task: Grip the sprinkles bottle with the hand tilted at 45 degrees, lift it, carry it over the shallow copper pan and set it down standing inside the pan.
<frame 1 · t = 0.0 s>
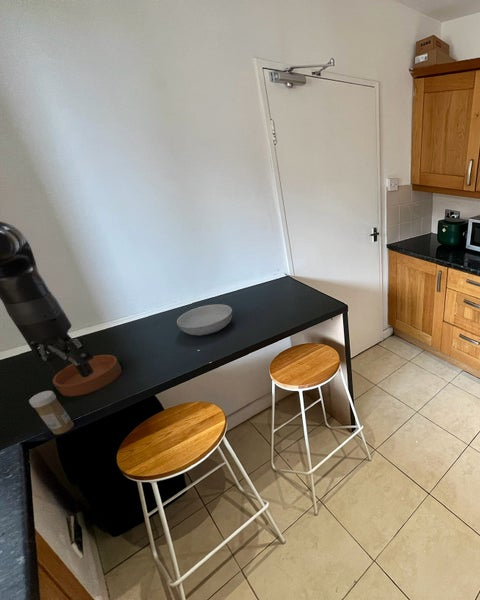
hand: (74, 372, 76), 24 cm above the countertop, tool pointing down, fingers open, 8 cm apart
pan: (92, 379, 108), on the countertop
serving bowl: (209, 328, 138), on the countertop
sprinkles bottle: (65, 431, 89), on the countertop
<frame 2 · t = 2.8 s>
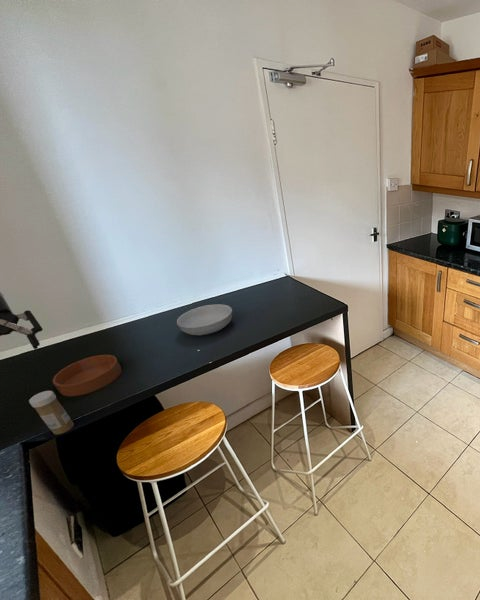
hand: (12, 355, 82), 24 cm above the countertop, tool tilted 40°, fingers open, 8 cm apart
nothing on the countertop moved.
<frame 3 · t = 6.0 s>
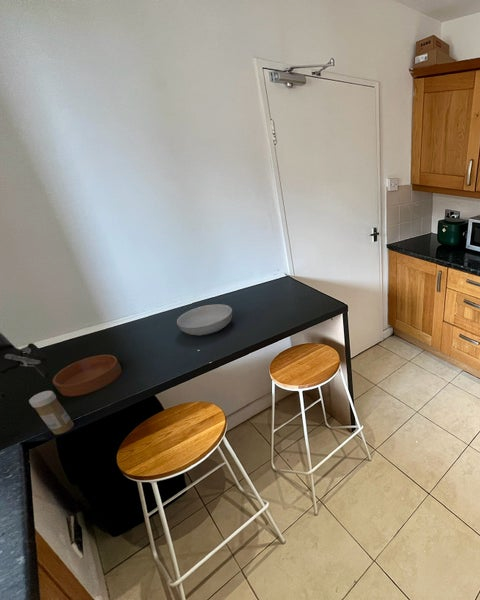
hand: (25, 385, 85), 14 cm above the countertop, tool tilted 45°, fingers open, 8 cm apart
nothing on the countertop moved.
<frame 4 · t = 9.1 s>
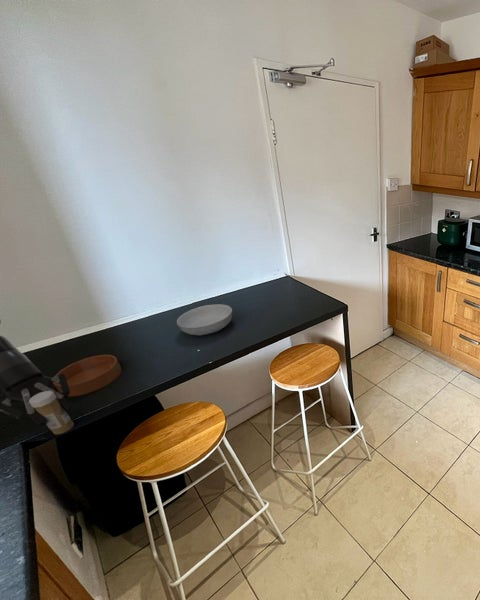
hand: (57, 416, 85), 7 cm above the countertop, tool tilted 45°, fingers closed on sprinkles bottle, 4 cm apart
sprinkles bottle: (65, 431, 89), on the countertop, touching gripper
everything else where it was.
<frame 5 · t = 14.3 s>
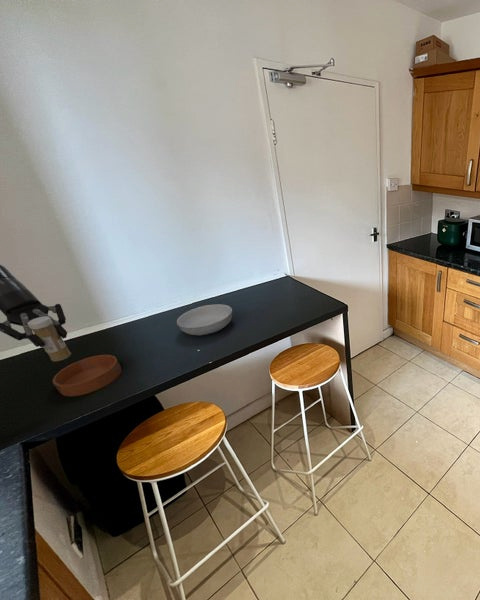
hand: (54, 341, 92), 21 cm above the countertop, tool tilted 45°, fingers closed on sprinkles bottle, 4 cm apart
sprinkles bottle: (62, 357, 95), point 15 cm above the countertop, touching gripper
everything else where it was.
when the fingers open (7 cm above the countertop, at t = 19.8 s): sprinkles bottle stays where it is, resting on pan.
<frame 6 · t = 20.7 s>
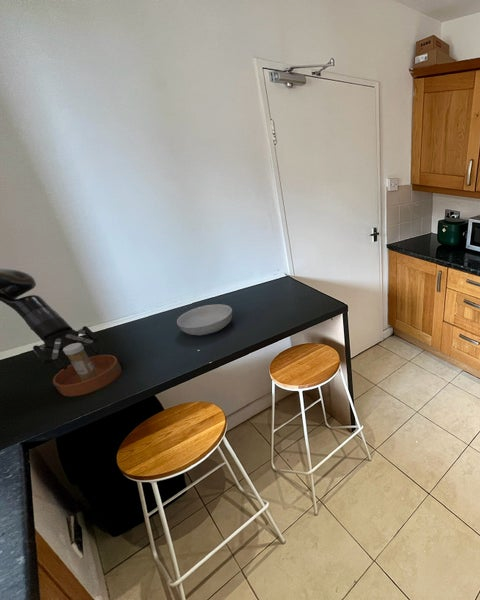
hand: (82, 360, 104), 9 cm above the countertop, tool tilted 45°, fingers open, 8 cm apart
sprinkles bottle: (91, 378, 108), resting on pan
everything else where it was.
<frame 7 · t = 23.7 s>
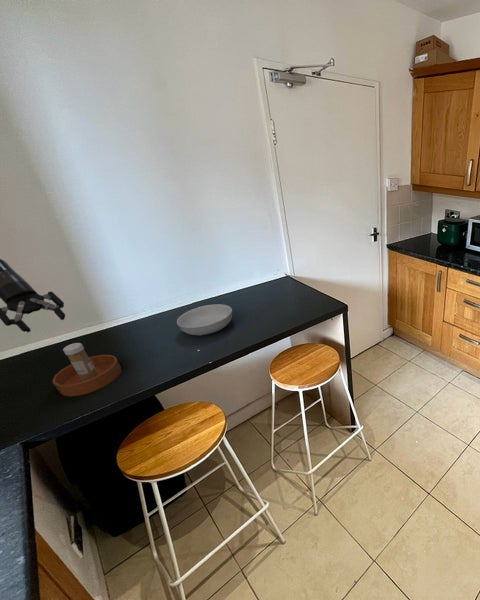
hand: (46, 324, 104), 19 cm above the countertop, tool tilted 45°, fingers open, 8 cm apart
nothing on the countertop moved.
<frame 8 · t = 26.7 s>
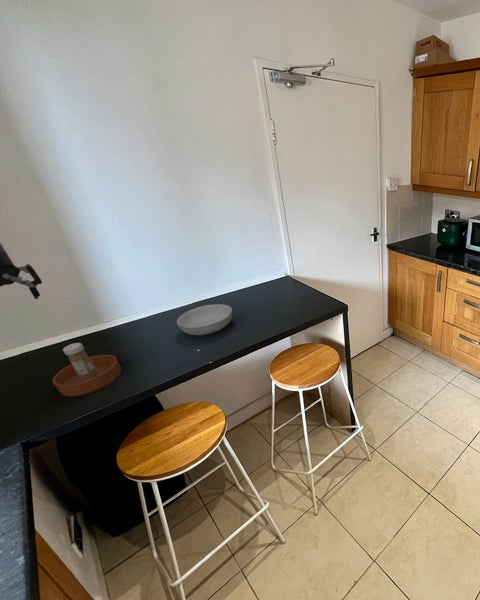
hand: (16, 302, 95), 30 cm above the countertop, tool pointing down, fingers open, 8 cm apart
nothing on the countertop moved.
at the end: sprinkles bottle inside the target area in the pan (0.2 cm from its centre), point 0.4 cm above the pan's base; sprinkles bottle tilted 0°; the gripper is holding nothing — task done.
